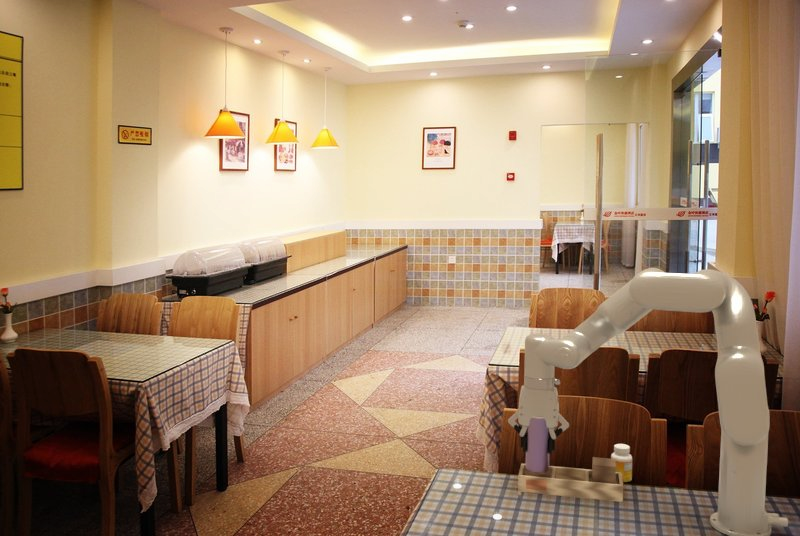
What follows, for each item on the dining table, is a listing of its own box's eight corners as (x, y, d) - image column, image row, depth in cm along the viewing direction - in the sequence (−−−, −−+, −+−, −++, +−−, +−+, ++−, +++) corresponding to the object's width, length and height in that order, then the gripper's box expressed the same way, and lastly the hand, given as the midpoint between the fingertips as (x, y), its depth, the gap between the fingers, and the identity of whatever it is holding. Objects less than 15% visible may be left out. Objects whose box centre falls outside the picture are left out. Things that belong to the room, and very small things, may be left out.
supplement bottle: (606, 479, 189) (606, 444, 188) (621, 476, 191) (622, 441, 190) (620, 487, 184) (621, 450, 183) (636, 483, 187) (637, 447, 186)
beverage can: (549, 475, 179) (550, 418, 177) (525, 473, 180) (526, 416, 178) (549, 467, 184) (550, 411, 183) (525, 465, 186) (527, 409, 184)
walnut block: (614, 489, 180) (615, 459, 180) (615, 498, 175) (616, 466, 174) (591, 487, 182) (592, 457, 181) (592, 495, 176) (592, 464, 176)
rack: (620, 491, 182) (621, 472, 181) (622, 506, 173) (623, 486, 172) (521, 481, 188) (521, 463, 188) (517, 495, 179) (518, 476, 179)
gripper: (574, 381, 181) (572, 449, 183) (506, 377, 186) (505, 443, 187) (573, 388, 174) (571, 459, 176) (503, 384, 178) (502, 453, 180)
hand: (537, 450), depth 182 cm, fingers closed on beverage can, 5 cm apart
